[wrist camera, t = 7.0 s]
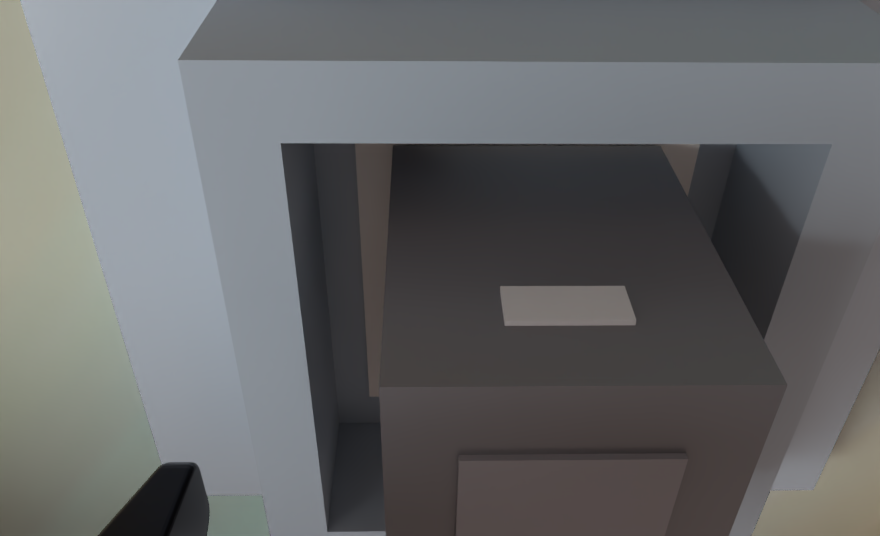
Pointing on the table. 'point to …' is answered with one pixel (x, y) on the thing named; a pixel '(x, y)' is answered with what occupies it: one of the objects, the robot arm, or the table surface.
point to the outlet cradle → (368, 196)
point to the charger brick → (562, 349)
